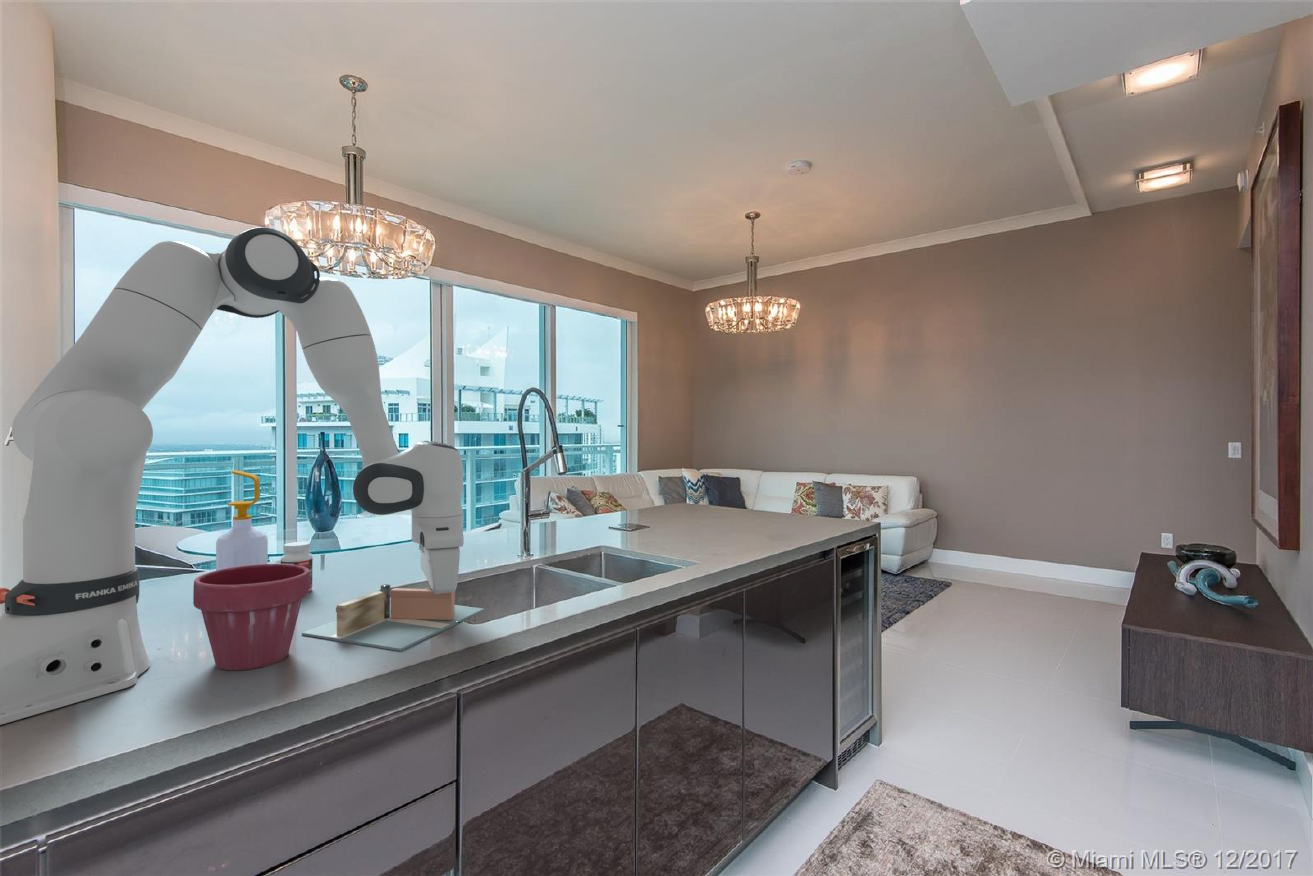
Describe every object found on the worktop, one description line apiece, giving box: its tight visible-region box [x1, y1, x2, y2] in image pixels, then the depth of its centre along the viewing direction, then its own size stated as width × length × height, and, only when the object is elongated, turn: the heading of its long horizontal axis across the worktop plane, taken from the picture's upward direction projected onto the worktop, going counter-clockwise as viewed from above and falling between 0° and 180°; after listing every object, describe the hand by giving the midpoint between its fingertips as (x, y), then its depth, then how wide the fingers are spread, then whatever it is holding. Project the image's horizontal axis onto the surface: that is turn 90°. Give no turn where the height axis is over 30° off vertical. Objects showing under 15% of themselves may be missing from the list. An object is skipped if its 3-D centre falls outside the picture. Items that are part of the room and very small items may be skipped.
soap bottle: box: [215, 469, 269, 571], centre depth 129 cm, size 9×9×25 cm
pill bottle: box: [280, 541, 314, 592], centre depth 126 cm, size 6×6×10 cm
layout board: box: [301, 599, 485, 652], centre depth 108 cm, size 22×20×1 cm
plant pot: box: [192, 563, 310, 671], centre depth 90 cm, size 14×14×13 cm
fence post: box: [380, 583, 391, 619], centre depth 109 cm, size 2×2×6 cm
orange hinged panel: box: [390, 587, 456, 620], centre depth 109 cm, size 11×2×5 cm, turn 87°
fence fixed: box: [335, 590, 385, 636], centre depth 104 cm, size 9×2×5 cm, turn 162°
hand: (437, 605), depth 111 cm, fingers closed
